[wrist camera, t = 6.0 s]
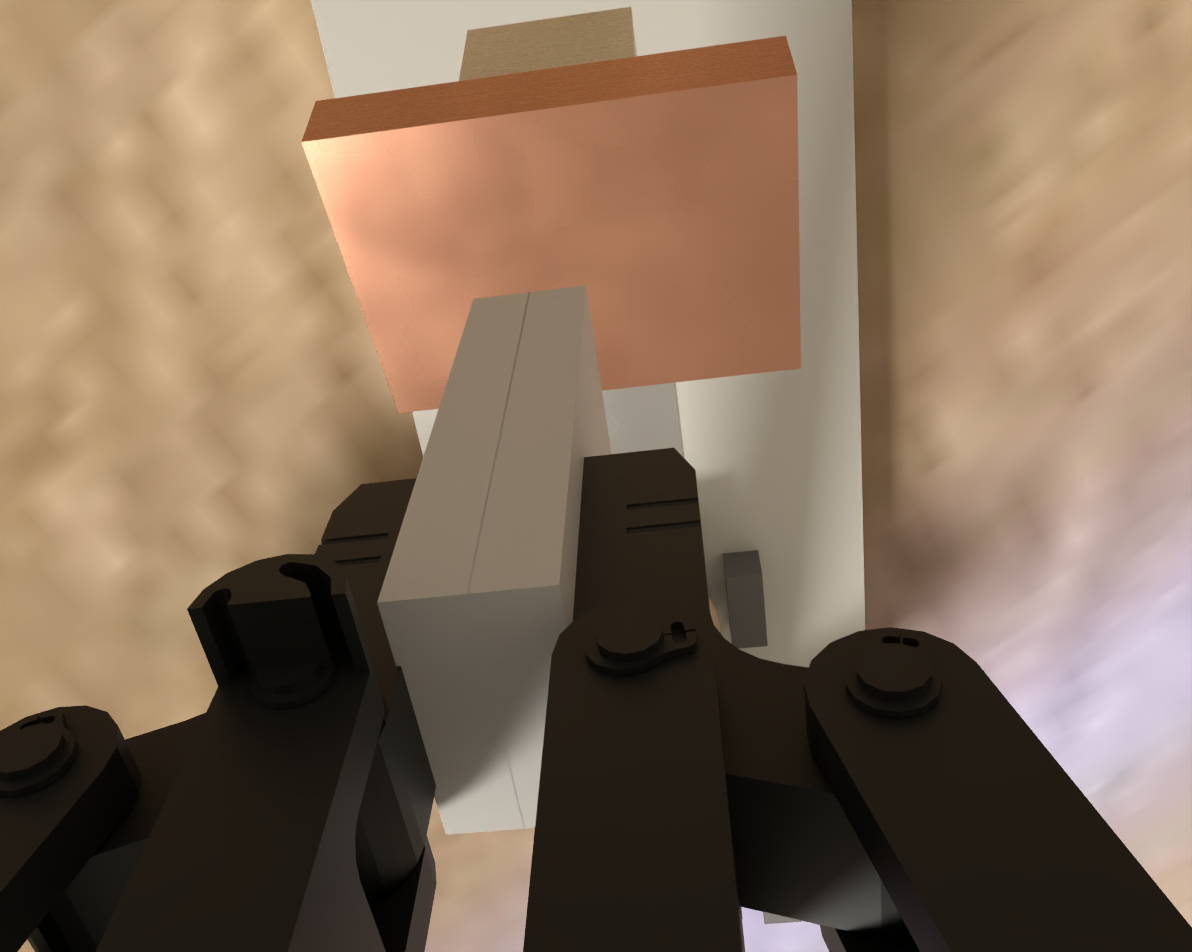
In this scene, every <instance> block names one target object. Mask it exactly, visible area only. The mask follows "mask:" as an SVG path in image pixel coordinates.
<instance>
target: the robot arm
mask: <svg viewBox="0 0 1192 952" xmlns="http://www.w3.org/2000/svg"><path fill="white" fill-rule="evenodd" d="M321 542H322V545H319V546H318V548H317V551H316V553H315V555H305V554H286V555H281V556H276V557H272V558H267V559H262V560H257V561H255V562H252V563H250V564H248V565H245V566H243V567H241V568H238V569H236V570H233V571H231V572H229V573H227V574H225V575H224V576H223V577H221V578H220V579H218V580H217V581H215V582H214V583H212V584H211V585H209V586H208V587H207V588H205V589H204V590H203V591H202V592H201V593H200V594H199V595H198V597H197V598H196V599H195V600H194V601H193V603H192V604H191V605H190V606H189V607H188V609H187V610H188V612H189V615H190V617H191V620H192V622H193V625H194V627H195V630H196V632H197V634H198V637H199V639H200V642H201V644H202V647H203V649H204V652H205V654H206V657H207V659H208V662H209V664H210V667H211V669H212V672H213V674H214V676H215V679H216V681H217V684H218V689H217V691H216V693H215V695H214V697H213V699H212V702H211V704H210V706H209V708H208V710H207V712H206V713H204V714H201V715H199V716H196V717H194V718H191V719H189V720H186V721H183V722H180V723H177V724H174V725H170V726H167V727H164V728H161V729H158V730H154V731H151V732H148V733H145V734H142V735H139V736H135V737H132V738H129V739H126V740H124V737H123V735H122V733H121V731H120V729H119V727H118V725H117V724H116V723H115V721H114V720H113V719H112V718H111V716H110V715H109V714H108V712H105V711H102V710H99V709H96V708H92V707H89V706H71V707H57V708H54V709H51V710H48V711H44V712H41V713H37V714H34V715H31V716H28V717H26V718H23V719H21V720H20V721H18V722H16V723H14V724H12V725H10V726H9V727H7V728H5V729H3V730H1V731H0V952H17V951H18V950H19V949H20V948H21V946H22V945H23V944H24V942H25V941H26V940H27V939H28V941H29V942H30V944H31V946H32V947H33V949H34V951H35V952H424V951H425V945H426V940H427V934H428V928H429V923H430V917H431V911H432V905H433V900H434V894H435V888H436V870H435V861H434V858H433V855H432V851H431V848H430V845H429V842H428V838H427V835H426V834H427V829H428V824H429V819H430V814H431V809H432V804H433V799H434V797H435V800H436V803H437V807H438V810H439V813H440V817H441V820H442V824H443V827H444V830H445V834H446V835H448V834H461V833H474V832H487V831H499V830H512V829H525V828H535V834H534V844H533V855H532V865H531V876H530V886H529V897H528V907H527V918H526V928H525V939H524V949H523V952H745V946H744V936H743V926H742V911H741V907H745V908H750V909H754V910H758V911H763V912H767V913H771V914H776V915H780V916H784V917H789V918H793V919H798V920H802V921H806V922H811V923H815V924H819V925H820V928H821V932H822V937H823V939H824V941H825V943H826V945H827V947H828V949H829V952H1192V927H1191V926H1190V925H1189V924H1188V923H1187V921H1186V920H1185V919H1184V918H1183V916H1182V915H1181V914H1180V913H1179V911H1178V910H1177V909H1176V908H1175V906H1174V905H1173V904H1172V903H1171V902H1170V900H1169V899H1168V898H1167V897H1166V895H1165V894H1164V893H1163V892H1162V890H1161V889H1160V888H1159V887H1158V886H1157V884H1156V883H1155V882H1154V881H1153V879H1152V878H1151V877H1150V876H1149V874H1148V873H1147V872H1146V871H1145V870H1144V868H1143V867H1142V866H1141V865H1140V863H1139V862H1138V861H1137V860H1136V858H1135V857H1134V856H1133V855H1132V854H1131V852H1130V851H1129V850H1128V849H1127V847H1126V846H1125V845H1124V844H1123V842H1122V841H1121V840H1120V839H1119V837H1118V836H1117V835H1116V834H1115V833H1114V831H1113V830H1112V829H1111V828H1110V826H1109V825H1108V824H1107V823H1106V821H1105V820H1104V819H1103V818H1102V817H1101V815H1100V814H1099V813H1098V812H1097V810H1096V809H1095V808H1094V807H1093V805H1092V804H1091V803H1090V802H1089V801H1088V799H1087V798H1086V797H1085V796H1084V794H1083V793H1082V792H1081V791H1080V789H1079V788H1078V787H1077V786H1076V785H1075V783H1074V782H1073V781H1072V780H1071V778H1070V777H1069V776H1068V775H1067V773H1066V772H1065V771H1064V770H1063V768H1062V767H1061V766H1060V765H1059V764H1058V762H1057V761H1056V760H1055V759H1054V757H1053V756H1052V755H1051V754H1050V752H1049V751H1048V750H1047V749H1046V748H1045V746H1044V745H1043V744H1042V743H1041V741H1040V740H1039V739H1038V738H1037V736H1036V735H1035V734H1034V733H1033V732H1032V730H1031V729H1030V728H1029V727H1028V725H1027V724H1026V723H1025V722H1024V720H1023V719H1022V718H1021V717H1020V716H1019V714H1018V713H1017V712H1016V711H1015V709H1014V708H1013V707H1012V706H1011V704H1010V703H1009V702H1008V701H1007V699H1006V698H1005V697H1004V696H1003V695H1002V693H1001V692H1000V691H999V690H998V688H997V687H996V686H995V685H994V683H993V682H992V681H991V680H990V679H989V677H988V676H987V675H986V674H985V672H984V671H983V670H982V669H981V667H980V666H979V665H978V664H977V663H976V662H975V661H974V660H973V659H972V658H970V657H969V656H968V655H967V654H966V653H964V652H963V651H962V650H961V649H960V648H958V647H957V646H956V645H955V644H953V643H951V642H948V641H946V640H943V639H941V638H938V637H936V636H933V635H931V634H928V633H926V632H922V631H914V630H906V629H898V628H891V627H890V628H881V629H873V630H864V631H857V632H855V633H852V634H850V635H847V636H845V637H843V638H840V639H838V640H835V641H833V642H831V643H829V644H828V645H827V646H826V647H825V648H824V649H823V650H822V651H821V652H820V653H819V654H817V655H816V656H815V657H814V658H813V659H812V660H811V662H810V665H809V667H802V666H795V665H788V664H782V663H777V662H773V661H769V660H764V659H760V658H758V657H755V656H753V655H751V654H749V653H746V652H744V651H742V650H740V649H738V648H737V647H735V646H734V645H733V644H731V643H730V642H729V641H727V640H726V639H725V638H724V637H723V636H722V635H721V633H720V632H719V631H718V629H717V628H716V627H715V626H714V623H713V620H712V617H711V613H710V603H709V593H708V583H707V574H706V564H705V555H704V546H703V536H702V527H701V518H700V509H699V499H698V490H697V481H696V471H695V469H694V468H693V467H692V466H691V465H690V464H689V463H688V462H687V461H686V459H685V458H684V457H683V456H682V455H681V454H680V453H679V452H678V451H677V450H676V449H675V448H665V449H655V450H646V451H637V452H628V453H618V454H611V448H610V441H609V435H608V428H607V421H606V415H605V408H604V401H603V395H602V388H601V382H600V375H599V368H598V362H597V355H596V348H595V342H594V335H593V328H592V322H591V315H590V308H589V302H588V295H587V288H586V285H584V286H576V287H567V288H559V289H551V290H543V291H534V292H526V293H518V294H510V295H502V296H493V297H485V298H477V299H473V302H472V305H471V308H470V311H469V315H468V318H467V321H466V324H465V327H464V330H463V334H462V337H461V340H460V343H459V346H458V349H457V352H456V356H455V359H454V362H453V365H452V368H451V371H450V374H449V378H448V381H447V384H446V387H445V390H444V393H443V397H442V400H441V403H440V406H439V409H438V412H437V415H436V419H435V422H434V425H433V428H432V431H431V434H430V438H429V441H428V444H427V447H426V450H425V453H424V456H423V460H422V463H421V466H420V469H419V472H418V475H417V478H416V479H407V480H397V481H388V482H379V483H369V484H361V485H360V486H359V487H358V488H357V489H356V490H355V491H354V492H353V493H352V494H351V495H350V496H349V497H348V498H346V499H345V500H344V501H343V502H342V503H341V504H340V505H339V506H338V507H337V508H336V509H335V510H334V511H333V513H332V515H331V517H330V520H329V522H328V524H327V527H326V529H325V532H324V534H323V536H322V539H321Z"/></svg>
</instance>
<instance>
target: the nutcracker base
mask: <svg viewBox="0 0 1192 952" xmlns="http://www.w3.org/2000/svg"><path fill="white" fill-rule="evenodd" d="M311 4H312V8H313V12H314V16H315V20H316V24H317V28H318V32H319V36H320V40H321V44H322V48H323V52H324V56H325V60H326V64H327V68H328V72H329V77H330V81H331V85H332V89H333V93H334V97H335V98H342V97H349V96H356V95H363V94H370V93H378V92H385V91H392V90H399V89H406V88H414V87H421V86H428V85H435V84H442V83H449V82H457V81H459V77H460V71H461V65H462V59H463V53H464V47H465V42H466V36H467V30H472V29H479V28H486V27H493V26H500V25H507V24H514V23H521V22H528V21H535V20H542V19H549V18H556V17H563V16H570V15H577V14H584V13H591V12H598V11H604V10H611V9H618V8H625V7H631V8H632V16H633V25H634V33H635V42H636V50H637V56H643V55H650V54H657V53H665V52H672V51H679V50H686V49H693V48H700V47H708V46H715V45H722V44H729V43H736V42H744V41H751V40H758V39H765V38H772V37H779V36H786V38H787V41H788V45H789V48H790V52H791V55H792V58H793V62H794V65H795V69H796V72H797V96H798V172H799V248H800V324H801V369H792V370H783V371H774V372H765V373H756V374H747V375H738V376H729V377H720V378H711V379H702V380H693V381H684V382H676V389H677V397H678V406H679V414H680V423H681V431H682V440H683V448H684V457H685V459H686V461H687V462H688V463H689V464H690V465H691V466H692V467H693V468H694V469H695V471H696V481H697V490H698V499H699V509H700V518H701V527H702V536H703V546H704V555H705V564H706V574H707V583H708V593H709V596H710V598H711V599H712V601H713V602H714V604H715V606H716V608H717V611H718V614H719V617H720V622H721V635H722V636H723V637H724V638H725V639H726V640H727V641H729V642H730V643H731V644H733V645H734V646H735V647H737V648H738V649H740V650H742V651H744V652H746V653H749V654H751V655H753V656H755V657H758V658H760V659H764V660H769V661H773V662H777V663H782V664H788V665H795V666H802V667H809V665H810V662H811V660H812V659H813V658H814V657H815V656H816V655H817V654H819V653H820V652H821V651H822V650H823V649H824V648H825V647H826V646H827V645H828V644H829V643H831V642H833V641H835V640H838V639H840V638H843V637H845V636H847V635H850V634H852V633H855V632H857V631H864V630H865V598H864V551H863V504H862V457H861V411H860V364H859V317H858V270H857V223H856V177H855V130H854V83H853V36H852V0H311ZM437 412H438V409H433V410H424V411H415V412H412V413H413V417H414V421H415V425H416V429H417V434H418V438H419V442H420V446H421V450H422V454H423V456H424V453H425V450H426V447H427V444H428V441H429V438H430V434H431V431H432V428H433V425H434V422H435V419H436V415H437ZM763 915H764V923H765V924H772V923H787V922H801V920H798V919H793V918H789V917H784V916H780V915H776V914H771V913H767V912H763Z"/></svg>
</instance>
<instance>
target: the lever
mask: <svg viewBox="0 0 1192 952" xmlns="http://www.w3.org/2000/svg"><path fill="white" fill-rule="evenodd" d="M302 145H303V148H304V151H305V153H306V156H307V159H308V162H309V165H310V167H311V170H312V173H313V176H314V179H315V181H316V184H317V187H318V190H319V192H320V195H321V198H322V201H323V204H324V206H325V209H326V212H327V215H328V217H329V220H330V223H331V226H332V229H333V231H334V234H335V237H336V240H337V243H338V245H339V248H340V251H341V254H342V256H343V259H344V262H345V265H346V268H347V270H348V273H349V276H350V279H351V282H352V284H353V287H354V290H355V293H356V295H357V298H358V301H359V304H360V307H361V309H362V312H363V315H364V318H365V321H366V323H367V326H368V329H369V332H370V334H371V337H372V340H373V343H374V346H375V348H376V351H377V354H378V357H379V359H380V362H381V365H382V368H383V371H384V373H385V376H386V379H387V382H388V385H389V387H390V390H391V393H392V396H393V398H394V401H395V404H396V407H397V410H398V412H399V413H406V412H415V411H424V410H433V409H439V406H440V403H441V400H442V397H443V393H444V390H445V387H446V384H447V381H448V378H449V374H450V371H451V368H452V365H453V362H454V359H455V356H456V352H457V349H458V346H459V343H460V340H461V337H462V334H463V330H464V327H465V324H466V321H467V318H468V315H469V311H470V308H471V305H472V302H473V299H477V298H485V297H493V296H502V295H510V294H518V293H526V292H534V291H543V290H551V289H559V288H567V287H576V286H584V285H586V288H587V295H588V302H589V308H590V315H591V322H592V328H593V335H594V342H595V348H596V355H597V362H598V368H599V375H600V382H601V388H602V395H603V401H604V408H605V415H606V421H607V428H608V435H609V441H610V448H611V454H618V453H628V452H637V451H646V450H655V449H665V448H675V449H676V450H677V451H678V452H679V453H680V454H681V455H682V456H683V457H684V448H683V440H682V431H681V423H680V414H679V406H678V397H677V389H676V382H684V381H693V380H702V379H711V378H720V377H729V376H738V375H747V374H756V373H765V372H774V371H783V370H792V369H801V324H800V248H799V172H798V96H797V72H796V69H795V65H794V62H793V58H792V55H791V52H790V48H789V45H788V41H787V38H786V36H779V37H772V38H765V39H758V40H751V41H744V42H736V43H729V44H722V45H715V46H708V47H700V48H693V49H686V50H679V51H672V52H665V53H657V54H650V55H643V56H637V50H636V42H635V33H634V25H633V16H632V8H631V7H625V8H618V9H611V10H604V11H598V12H591V13H584V14H577V15H570V16H563V17H556V18H549V19H542V20H535V21H528V22H521V23H514V24H507V25H500V26H493V27H486V28H479V29H472V30H467V36H466V42H465V47H464V53H463V59H462V65H461V71H460V77H459V81H457V82H449V83H442V84H435V85H428V86H421V87H414V88H406V89H399V90H392V91H385V92H378V93H370V94H363V95H356V96H349V97H342V98H335V99H327V100H320V101H316V102H315V105H314V108H313V111H312V114H311V116H310V119H309V122H308V125H307V128H306V131H305V133H304V136H303V139H302ZM684 458H685V457H684Z"/></svg>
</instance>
